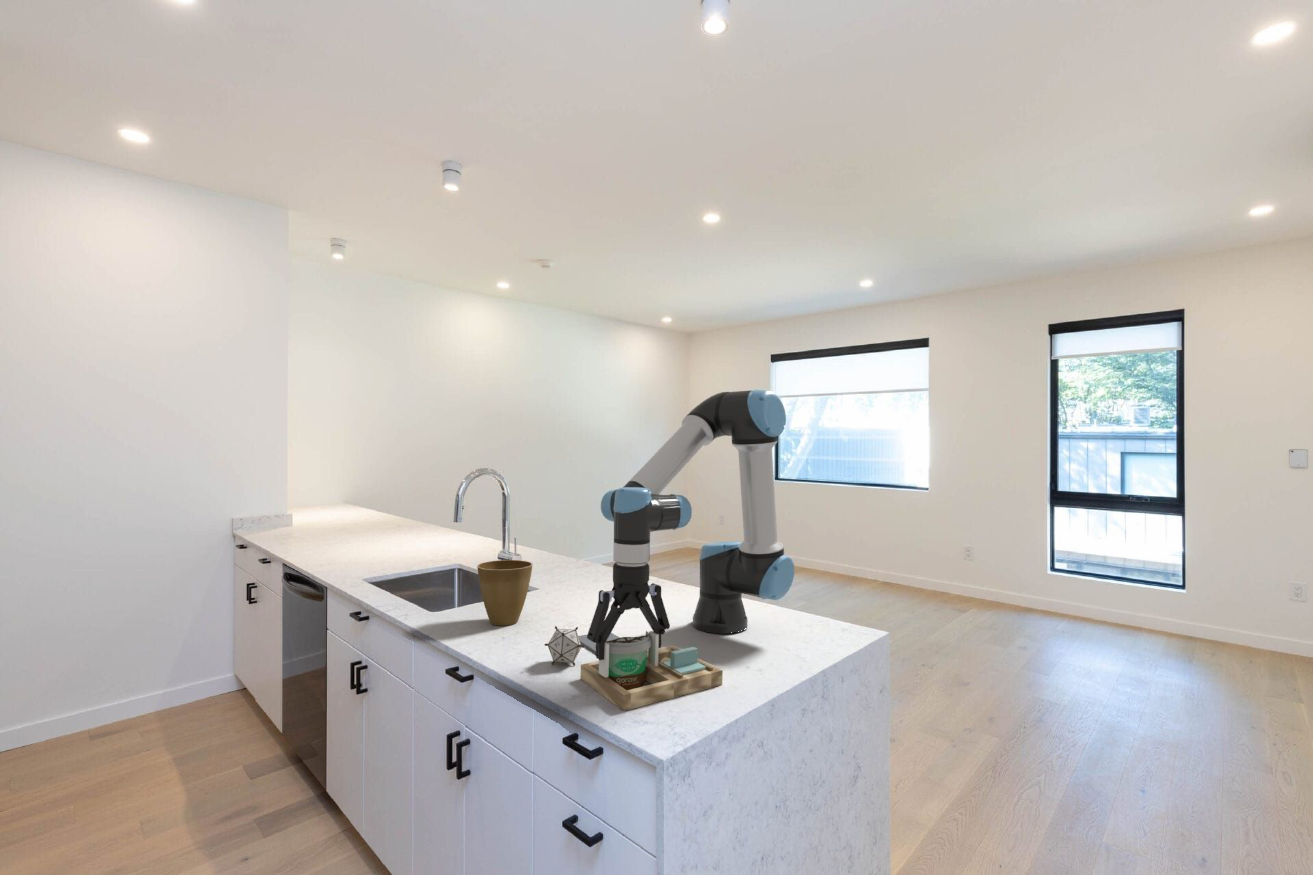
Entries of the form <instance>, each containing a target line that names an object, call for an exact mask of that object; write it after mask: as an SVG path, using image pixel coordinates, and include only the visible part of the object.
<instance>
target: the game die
mask: <svg viewBox="0 0 1313 875" xmlns="http://www.w3.org/2000/svg"><path fill="white" fill-rule="evenodd" d="M554 628H555V631H554V633H553V635H552V637H551V638H550V639H549V641H548V643H544V644H543V645H544V646H547V647H548V650H549V653H550V655H551V659H552V662H551V666H553V665H555V663H572V666H574V667H575V666H576V663H575V661H576V659H577V657H578V655H579V653H580V651H581V649H584V648H586V647H585V646H584V645H582V644H581V643H580V640H579V637H578V636H579V635H578V632H577V630H578V629H579V626H575V628H574V629H572V628H571V629H569V628H568V629H566V628H565V629H564V628H563V629H562V628H558V627H557V626H556V625H554Z"/></svg>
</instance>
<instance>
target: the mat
mask: <svg viewBox="0 0 1313 875" xmlns="http://www.w3.org/2000/svg"><path fill="white" fill-rule="evenodd" d="M587 635H588V633H587V634H581V635H578V637H579V640H580V643H581V645H584V646H585V647H584V648H586V649H587V650H589V651H591V652H593V653H594V654H596V649H595V645H596V643H594V642H592V641H591V640H589V639H588V638H587ZM618 638H621V637H620V636H618V635H616V634H614V633H612V632H611V634H610V635H609V637H608V639H607V641H611V640H615V639H618Z"/></svg>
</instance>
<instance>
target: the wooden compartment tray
mask: <svg viewBox="0 0 1313 875" xmlns="http://www.w3.org/2000/svg"><path fill="white" fill-rule="evenodd" d="M681 649H682V648H679V647H677V646H675V645H670V646H664V647H661V648H658V666H654V665H652V664H650V663H648V652H647V661H646V670H645V679H644V681H646V682H648V683H650V684H648V685H643V686H642V687H639V688H635V689H631V690H625V689H624V688H623V687H621V686H620V685H618V684H617V683H615V682H614V681H612V680H611V679H609V678H608V677H604V676H602V675H601V674H599V660H596V661H592V662H587V663H581V664H580V680H582V681H583V682H584V683H585V684H587V685H588V686H589V687H591V688H592V689H593V688H594V689H593V690H595V691H596V692H598V693H599V694H600V695H602V696H603V697H604V698H606V699H607V700H608V699H609V700H608V701H610V702H611V703H612V704H614V705H615V706H616V707H617V708H619V709H621V710H622V711H624V712H625V711H629V710H633V709H637V708H641V707H644V706H647V705H650V704H651V705H652V704H655V703H659V702H662V701H666V700H670V699H674V698H677V697H682V696H685V695H688V694H693V693H696V692H701V691H704V690H708V689H711V688H716V687H719V686H723V673H724V672H723V671H724V670H723V669H721V668H719V667H717V666H715V665H712V664H711V663H709V662H707V661H704V660H703V659H701V658H699V657H697V662H698V663H700V664H702V665H704V666H706V669H704V670H700V671H696V672H692V673H688V674H684V675H682V674H680V673H679V672H677V671H675V670H673V669H671V668H670V667H668V666H666V665H664V664H663V663H661V662H660V661H661V660H662V659H663V658H670V656H671V651H676V650H681Z"/></svg>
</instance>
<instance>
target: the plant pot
mask: <svg viewBox="0 0 1313 875" xmlns="http://www.w3.org/2000/svg"><path fill="white" fill-rule="evenodd" d="M476 568H477V574H478V581H479V586H480V593H481V597H482V601H483V605H484V608H485V609H484V610H485V611H486V614H487V618H488V620H489V623H490V624H491V625H493V626H499V627H502V626H503V627H504V626H511V625H514V624H517V623H518V622H519V620H520V617H521V614H522V612H523V608H524V606H525V602H526V598H527V596H528V592H529V587H530V583H531V577H532V571H533V563H532V562H531V561H527V560H520V559H502V560H501V559H499V560H491V561H483V562H481V563H480V562H479V564H477V566H476Z"/></svg>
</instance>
